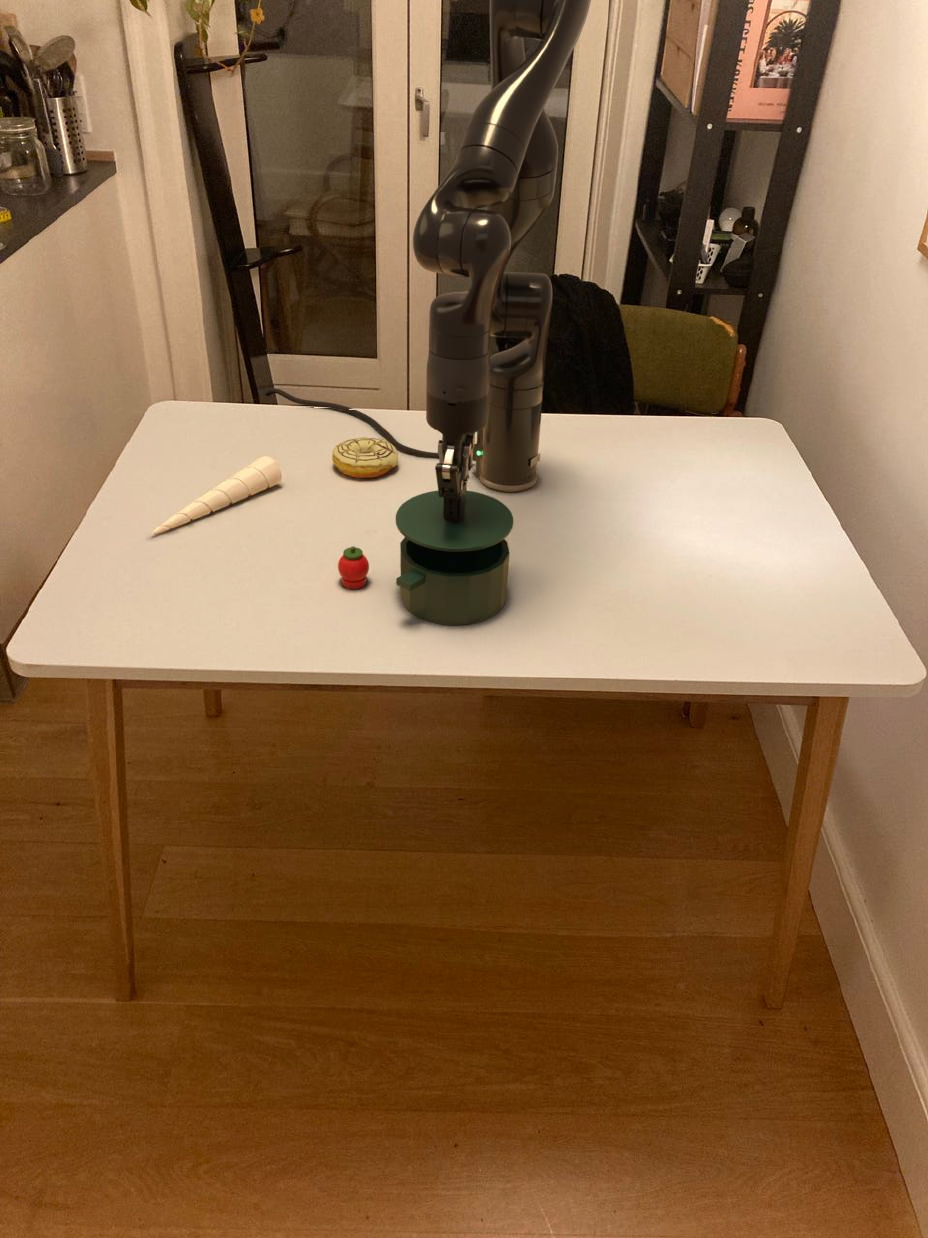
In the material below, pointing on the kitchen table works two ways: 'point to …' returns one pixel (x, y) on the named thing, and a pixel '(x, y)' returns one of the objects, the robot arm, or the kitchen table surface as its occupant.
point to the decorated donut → (365, 457)
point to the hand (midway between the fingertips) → (454, 513)
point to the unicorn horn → (229, 492)
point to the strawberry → (353, 568)
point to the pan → (453, 582)
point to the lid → (475, 530)
